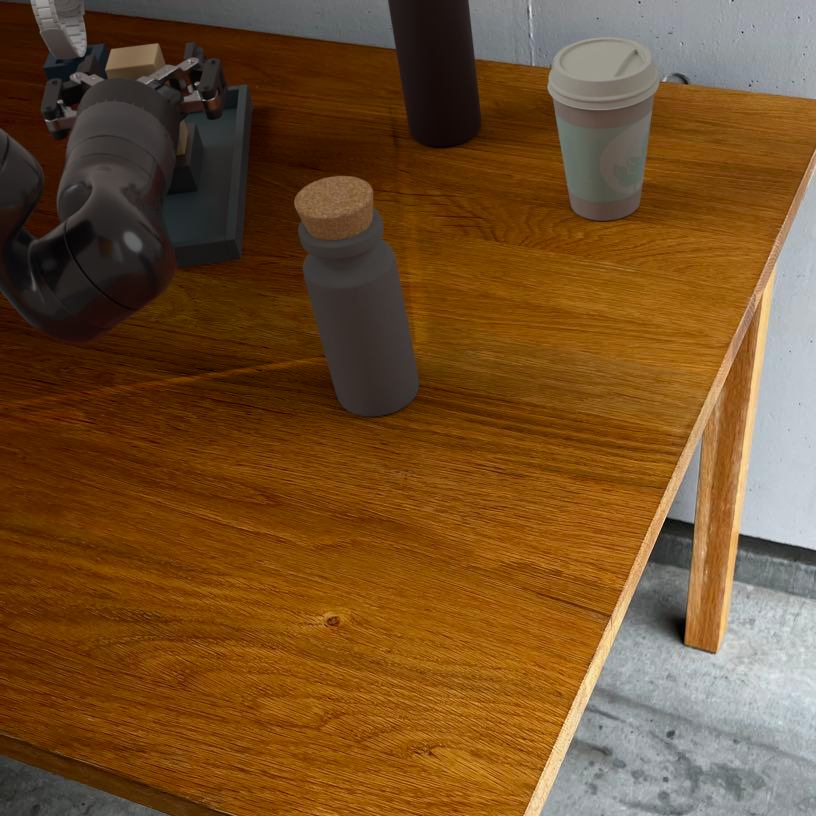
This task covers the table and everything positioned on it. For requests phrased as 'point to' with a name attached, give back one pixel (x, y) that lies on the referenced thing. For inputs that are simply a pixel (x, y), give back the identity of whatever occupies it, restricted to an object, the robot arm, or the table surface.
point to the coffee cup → (604, 122)
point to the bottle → (356, 297)
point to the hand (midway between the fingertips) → (144, 59)
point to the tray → (214, 187)
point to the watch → (66, 38)
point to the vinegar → (437, 69)
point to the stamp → (190, 146)
